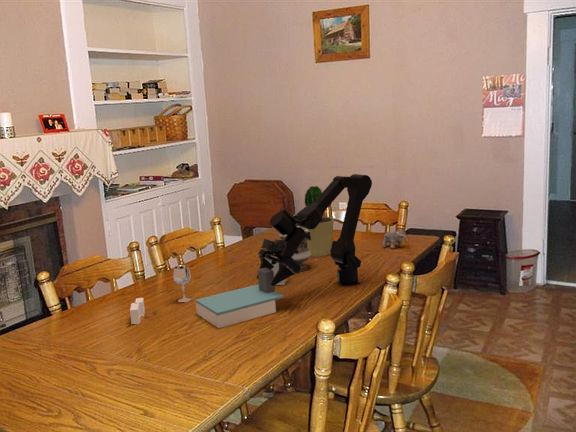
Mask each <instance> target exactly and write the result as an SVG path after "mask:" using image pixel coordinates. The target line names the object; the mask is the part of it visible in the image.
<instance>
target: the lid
mask: <svg viewBox="0 0 576 432" xmlns="http://www.w3.org/2000/svg"><path fill="white" fill-rule="evenodd" d="M257 275H258V279H257V280H258V284H253V285H250V286H246V287H242V288H238V289H233V290H229V291H225V292H222V293H217V294H214V295H209V296H206V297H202V298H196V299H195V303H196V302H197V303H198V304H200V305H202V306H203V307H205V308H207V309H208V310H210V311H211V312H213V313H215V314H216V315H220V314H224V313H228V312H232V311H235V310H239V309H243V308H247V307H250V306H254V305H258V304H262V303H265V302H269V301H273V300H275V303H276V300H279V299H283V298H285V295H283V293H280V292H277V291H276V289H275V286H276V285H274V286H272V285H271V283H272V281H273V279H274V272H273V270H270V269H268V268H262V269H259V268H257Z"/></svg>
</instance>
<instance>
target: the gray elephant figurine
mask: <svg viewBox="0 0 576 432" xmlns="http://www.w3.org/2000/svg"><path fill="white" fill-rule="evenodd" d="M383 237H384V238H383V241H382V248H386V247H387V243H388V245H390V246H389V247H390V249H391V250H394V249H396V243H397V244H398V246H399V247H400V248H401V247H402V246H403V243H402V242H403V238H404V239H405V241H406V243H409V239H408V236H407V234H406V231H405V230H404V229H401V230H397V231H394V230H392V231H388V232H385V234H384V235H383Z"/></svg>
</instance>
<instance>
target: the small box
mask: <svg viewBox="0 0 576 432" xmlns="http://www.w3.org/2000/svg"><path fill="white" fill-rule="evenodd" d="M273 266H274V267H273V268H272V269H271V270H273V272H274V277H275V275H276V273H277V272H278V270H279V263H276V264H275V265H273ZM289 279H290V277H288V278H286V279H285V280H283V281H281V282H279V283H278V284H276V285H275V286H285V285H286V283H288V281H289Z"/></svg>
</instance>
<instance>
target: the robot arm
mask: <svg viewBox="0 0 576 432" xmlns="http://www.w3.org/2000/svg"><path fill="white" fill-rule="evenodd" d="M372 186H373V181H372V179H371V177H370V175H367V174H360V173H359V174H358V173H353V174H351V175H350V176H341V175H336V176H335V177H333V179H332V181H331V182H330V183H329V184H328V186H327V187H325V189H324V190H322V193H321V194H320V196H319V197H318V198H317V199H316V200H315V201H314V202H313V203H312V204H310V205H308V206H306V205H305V206H304V207H303V208H302V209H300V210H299V211H298V212H297V213H296V214H295V215H291V214H290V213H289V212H288V211H287V210H286V209H284V208H283V209H281V210H280V211H278V212H277V213H275V214H273V215H272V216H271V218H270V219H269V225H270V226H271V227H272V228H273V229H274V230H275V231H277V232H278V233H279V234H281V235H286V236H285V238H284V239H283V240H282V239H277V238H276V239H275V240H274V241H273V240H270V239H267V238H264V239H263V242H262V245H261V249H260V250H259V251H258V253H257V255H259V256H258V258H259V260H260V266H259V268H258V269H262V268H268V269H270V270H271V269H272V268H273V267H274V266H273V265H275V264H276V263H279V270H278V272H277V273H276V275H275V277H274V279H273V281H272V283H271V285H272V286H277V285H276V284H278V283H279V282H281V281H283V280H285V279H286V278H288V277H289V278H290V277H292V276H296V275H299V273H300V272H301V271H300V270H301V265H300V264H298V263H297V262H296V261H295V260H294V259H293V258H292V257H293V255H294V254H298V253H299V251H298V250H297V249H298V248H299V246H300V245H301V243H302V242H303V241H304V239H307V240H311V236H310V232H307V231H304V230H303V229H302V228H306V229H315V228H316V227H317V226H318V224H319V223H320V221H321V219H322V216H324V214H325V212H326V210H327V209H328V207H330V206H331V204H332V203H333V202H334V201H335V200H336V199H337V197H338V196H339V195H340V194H341V193H342V192H343V191H344V190H345V189H346V191H347V194H348V201H347V205H346V209H345V210H346V211H345V214H344V218H343V222H342V227H341V231H340V234H339V235H340V236H339V237H338V239H337V240H332V246H331V250H330V252H331V253H330V258H331V259H332V260H333V262H334V264H335V265H336V266H337V267H338V268H337V270H336V277H337V278H336V280H337V281H336V282H338V283H339V284H340V285H341V286H342V287H345V286H352V285H359V284H361V282H360V281H359V277H358V276H359V274H358V273H359V271H358V270H359V269H358V268H361V266H362V260H361V259H359V257H357V256H356V245H355V237H356V236H355V235H356V230H357V227H358V223H359V219H360V213H361V210H362V205H363V201H364V200H365V199H366V198H367V197H368V195H369V193H370V191H371V189H372ZM323 213H324V214H323ZM296 225H298V226H299V227H297V226H296ZM301 227H302V228H301ZM256 279H257V280H258V274H257V276H256Z"/></svg>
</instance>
